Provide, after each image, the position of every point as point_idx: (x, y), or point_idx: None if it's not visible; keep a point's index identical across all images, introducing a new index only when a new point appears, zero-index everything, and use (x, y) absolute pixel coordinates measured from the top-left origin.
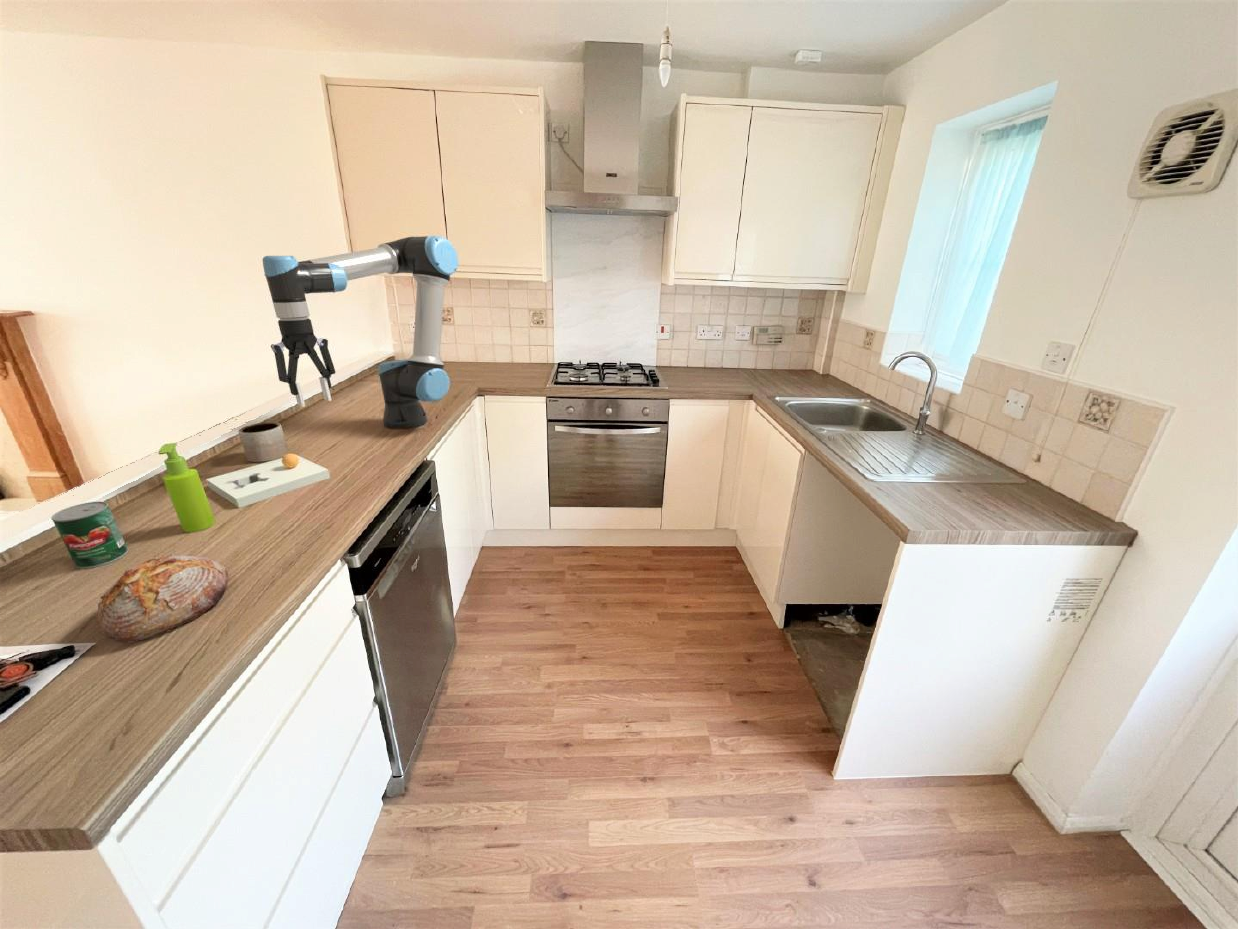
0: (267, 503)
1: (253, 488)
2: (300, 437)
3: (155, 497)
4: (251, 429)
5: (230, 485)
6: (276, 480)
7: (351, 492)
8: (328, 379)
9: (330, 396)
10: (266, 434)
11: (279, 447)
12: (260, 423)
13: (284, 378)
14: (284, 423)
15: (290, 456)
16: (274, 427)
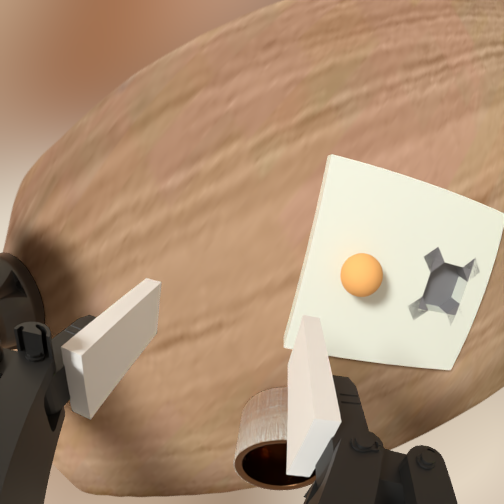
0: (469, 175)
1: (471, 231)
2: (176, 438)
3: (477, 388)
4: (280, 479)
5: (469, 296)
6: (429, 223)
7: (361, 41)
8: (56, 346)
9: (137, 286)
10: None
11: (278, 402)
12: (257, 483)
13: (436, 472)
14: (155, 491)
15: (371, 267)
16: (243, 459)
